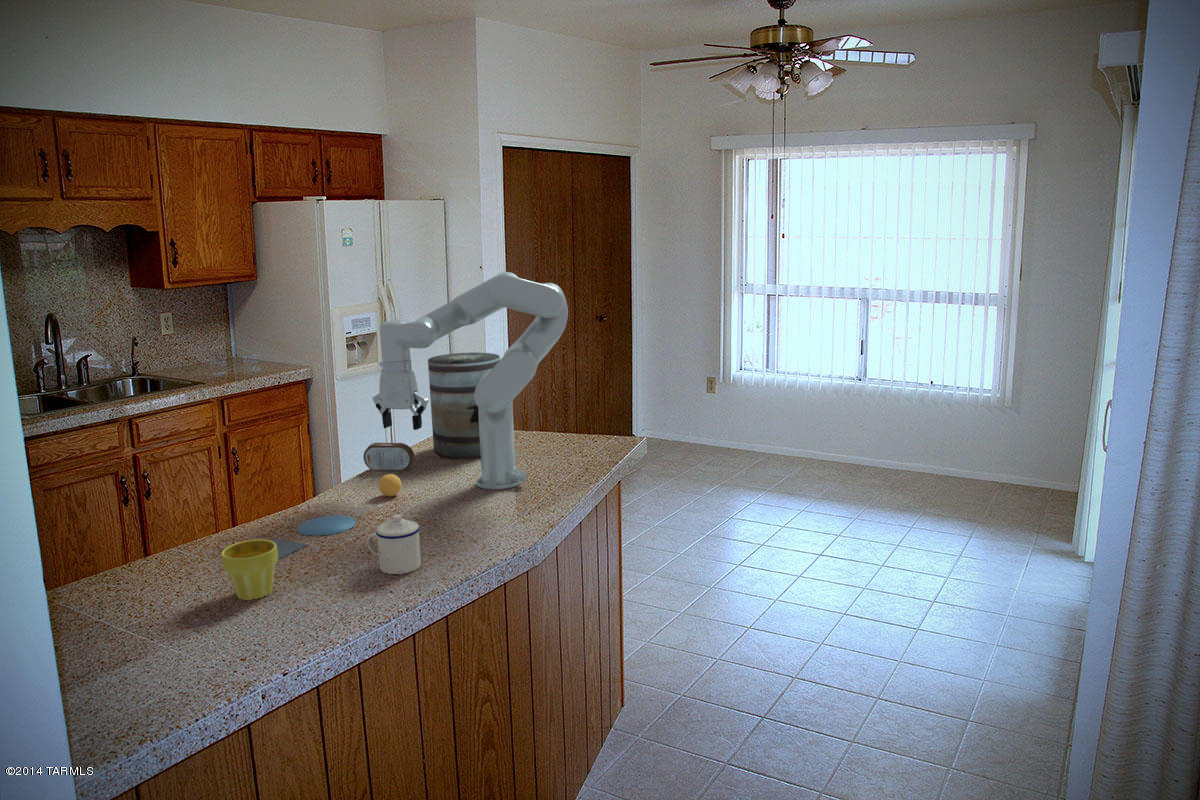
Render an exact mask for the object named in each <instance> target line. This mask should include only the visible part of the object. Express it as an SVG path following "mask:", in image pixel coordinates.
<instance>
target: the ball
mask: <svg viewBox="0 0 1200 800" xmlns="http://www.w3.org/2000/svg"><path fill="white" fill-rule="evenodd" d="M378 490H379V492H380V493H381V494H382V495H384V496H386V497H394V496H396V495H397V494H399V493H400V491H401V490H402V481H401V479H400V477H399V476H397V475H396V474H392V473H390V474H385V475H383V476H382V477H381V478H380V479H379V482H378Z"/></svg>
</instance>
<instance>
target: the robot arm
mask: <svg viewBox="0 0 1200 800" xmlns="http://www.w3.org/2000/svg"><path fill="white" fill-rule="evenodd" d="M504 308H506V309H510V310H513V311H516V312H521V313H524V314H529V315H533V316H535V318H534V319H533V321H532V322H531V323H530V324H529V326H528V327H527V328H526V329H525V331H524V332H523V333H522V335H521V336H519V337H518V338H517V340H515V342H514V343H513V344H511V346H509V347H508V348H507V349H506V350H505V352H504V353H503V356H502V358H500V361H499V362H498V363H497V364H496V365H495V367H494V368H493V369H492V370H491V371H490V372H489V373H486V374H485V375H483V376H482V377H481V379H480V380H479V382H478V384H477V386H476V389H475V393H474V398H475V402H476V404H477V406H478V413H479V436H480V454H481V458H480V471H481V476H480V477H478V478H477V479H476V481H475V482H476V486H477V487H479V488H482V489H484V490H505V489H513V488H515V487H517V486H519V485H520V484H522V482H526V481H527V480H528V479H527V478H528V473H527V472H523V471H522V472H521V471H520V467H519V466H516V453H515V434H514V433H515V430H514V429H515V428H514V427H515V426H514V425H515V424H514V400H515V399H516V398H517V396H518V395H519V394H520V393H521V392H522V391H523V389H524V388H526V386H527V385H528V384H529V383H530V382H531V381H532V380H533V377H534V376H535V375H536V373H537V369H538V367H539V366H538V365H539V364H540V363H541V362H542V361H543V359H544V358H545V357H546V356H547V354H549V352H550V351H551V349H553V347H554V345H556V343H557V342H558V341H559V339H560V338H561V336H562V335H563V333H564V332H565V329H566V326H567V324H568V323H567V322H568V317H569V310H568V309H569V307H568V302H567V299H566V296H565V293H564V291H563V290H562V288H561V287H560V286H559V285H558V284H556V283H553V282H545V283H539V282H535V281H532V280H527V279H524V278H520V277H519V276H517V275H516V274H515V273H513V272H510V271H504V272H503V271H502V272H499V274H497V275H494V276H492V277H491V278H489V279H487V280H485V281H483V282H481V283H480V284H478V285H475V287H472V288H471V289H469V290H468V289H467V291H465V292H463V293H460V294H459V295H458V296H456V297H455V298H453V299H452V300H451V301H449V302H447V303H445V304H444V305H442V306H440V307H438V308H436V309H434V310H431V311H430V312H429V313H427V314H425V315H422V316H420V317H419V318H417V319H416V320H415V321H411V322H410V321H409V322H406V321H404V320H390V321H389V320H388V321H384V322H382V323H380V324H379V338H380V339H379V340H380V349H381V359H382V360H381V361H380V362H379V367H381V368H382V371H380V377H379V393H377V394H376V395H375V396H373V397H372V401H373V402H374V403H373V404H375V407H376V408H377V410H378V411H379V414H381V418H382V426H383V429H387V428H390V427H392V426H393V420H392V413H391V411H390V410H410V411H411V413H412V414H413V415H412V418H411V419H412V420H411V421H412V430H413V431H417V430H419V429H421V428H422V425H423V421H422V414H423V413H424V411H425V410H426V409H427V405H428V402H429V399H428V398H427V397H425V396H424V395H422V394H421V393H419V389H418V382H417V380H416V379H417V378H416V375H415V373H414V372H415V371H414V370H412V359H411V358H412V357H411V349H419V350H421V349H422V350H423V349H426V348H429V347H430V346H432V344H434V343H435V342H436V341H437V340H439V339H441V338H442V337H444V336H446V335H448V334H450V333H452V332H453V331H456V330H458V329H460V328H462V327H465V326H470V325H473V324H476V323H478V322H480V321H481V320H484V319H485V318H487V317H489V316H491V315H493V314H495V313H497V312H498V311H501V310H502V309H504ZM419 403H420V405H419Z"/></svg>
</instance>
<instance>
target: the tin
mask: <svg viewBox="0 0 1200 800" xmlns="http://www.w3.org/2000/svg"><path fill="white" fill-rule="evenodd" d="M363 461H364V464H365V466H366V467H367V468H369V469H370V470H371V471H375V472H405V471H406V470H408V469H409V468H410V467H412V466H413V464H414V463H415V452H414V450H413V449H412V448H411V446H410V445H408V444H406V443H402V442H373V443H371V444H369V445H368V446H367V447H366V449H365V451H364V452H363Z"/></svg>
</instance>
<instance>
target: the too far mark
mask: <svg viewBox="0 0 1200 800" xmlns="http://www.w3.org/2000/svg"><path fill="white" fill-rule="evenodd" d="M271 541H273V542H275V543H276V545H277V552H278V559H279V560H281V559H283V558H285V557H286V556H289V555H291V554H293V553H295V552H297V551H299V550H301V549H303V547H304V548H305V546H306V547H307V545H308V546H309V544H306V543H301V542H295V541H290V540H284V539H278V538H274V539H272V540H271ZM294 551H295V552H294ZM280 558H281V559H280Z"/></svg>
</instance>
